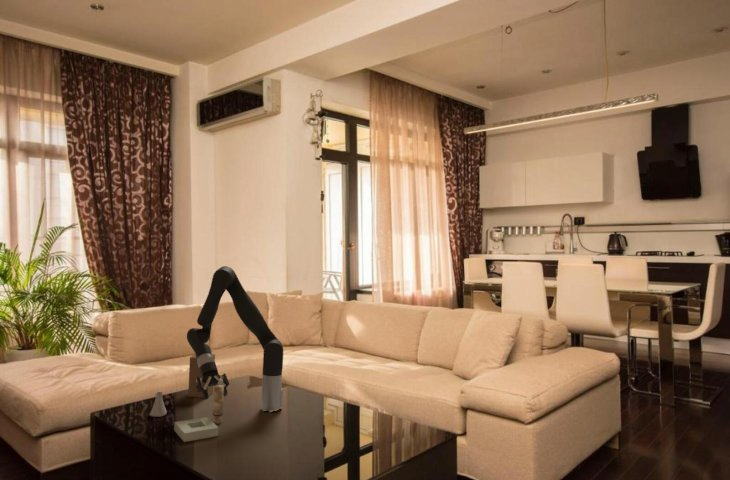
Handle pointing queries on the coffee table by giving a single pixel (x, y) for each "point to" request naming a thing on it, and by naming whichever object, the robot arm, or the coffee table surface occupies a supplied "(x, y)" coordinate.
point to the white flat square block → (196, 429)
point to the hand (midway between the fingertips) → (216, 397)
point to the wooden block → (193, 375)
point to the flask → (158, 406)
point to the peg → (218, 403)
